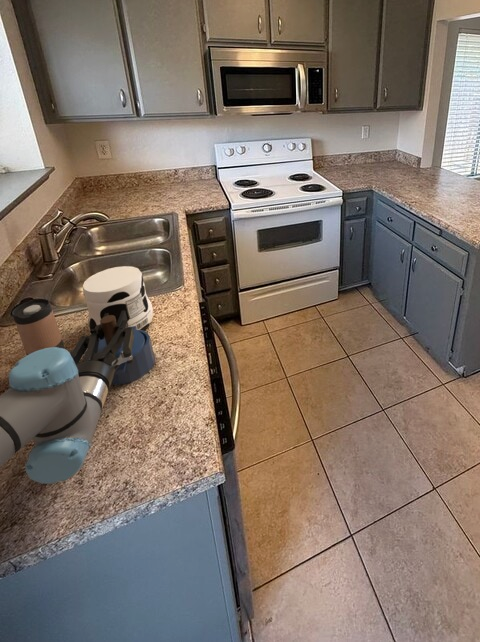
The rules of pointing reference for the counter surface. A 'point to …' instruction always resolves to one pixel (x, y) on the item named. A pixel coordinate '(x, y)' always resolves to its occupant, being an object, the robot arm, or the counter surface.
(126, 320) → the robot arm
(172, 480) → the counter surface
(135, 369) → the pot
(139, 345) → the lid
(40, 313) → the travel mug
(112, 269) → the milk container
